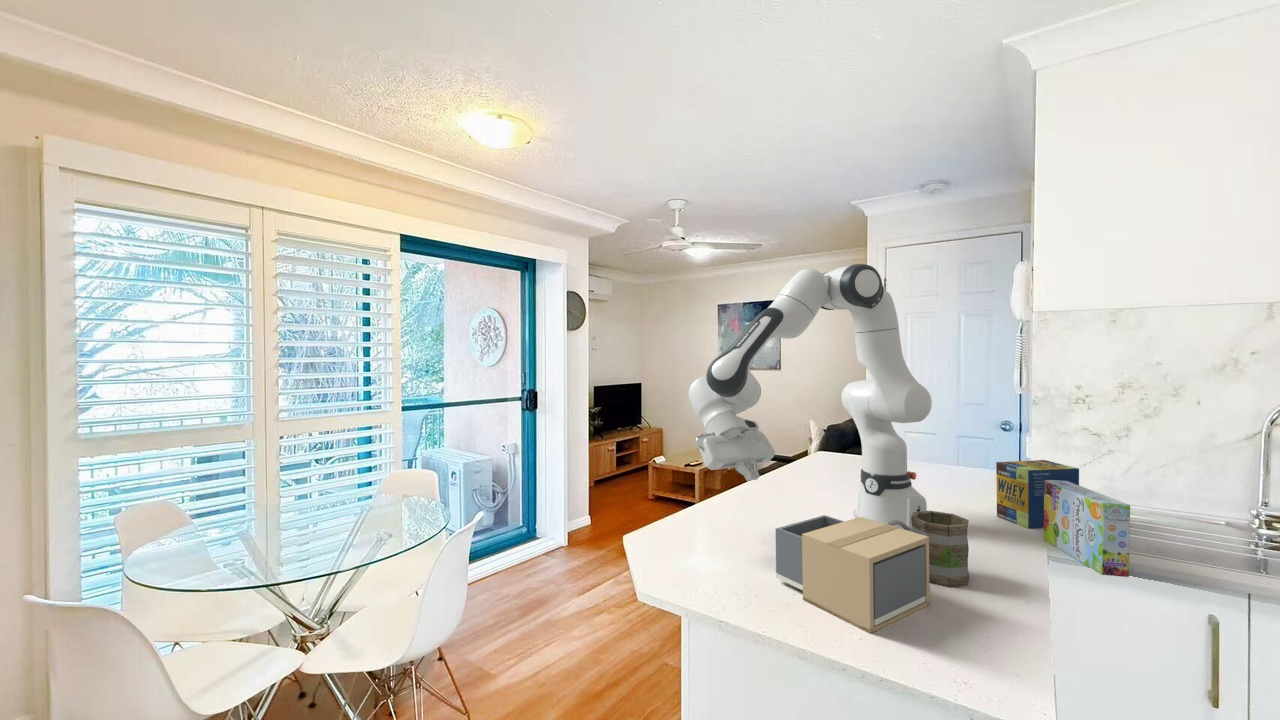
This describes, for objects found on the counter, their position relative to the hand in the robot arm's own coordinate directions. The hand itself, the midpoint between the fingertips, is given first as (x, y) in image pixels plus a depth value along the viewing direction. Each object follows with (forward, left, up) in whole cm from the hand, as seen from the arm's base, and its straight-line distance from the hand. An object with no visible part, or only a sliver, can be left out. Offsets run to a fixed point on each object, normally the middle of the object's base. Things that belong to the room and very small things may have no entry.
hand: (753, 479), depth 119 cm
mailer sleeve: (0, +28, -17) cm, 33 cm away
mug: (-21, +28, -18) cm, 40 cm away
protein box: (-79, +26, -18) cm, 85 cm away
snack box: (-59, +42, -18) cm, 75 cm away
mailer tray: (0, +24, -17) cm, 30 cm away
